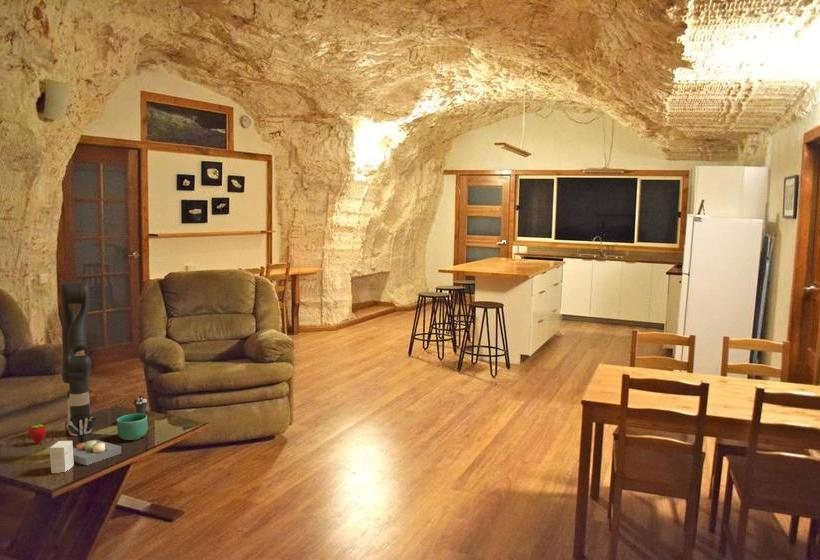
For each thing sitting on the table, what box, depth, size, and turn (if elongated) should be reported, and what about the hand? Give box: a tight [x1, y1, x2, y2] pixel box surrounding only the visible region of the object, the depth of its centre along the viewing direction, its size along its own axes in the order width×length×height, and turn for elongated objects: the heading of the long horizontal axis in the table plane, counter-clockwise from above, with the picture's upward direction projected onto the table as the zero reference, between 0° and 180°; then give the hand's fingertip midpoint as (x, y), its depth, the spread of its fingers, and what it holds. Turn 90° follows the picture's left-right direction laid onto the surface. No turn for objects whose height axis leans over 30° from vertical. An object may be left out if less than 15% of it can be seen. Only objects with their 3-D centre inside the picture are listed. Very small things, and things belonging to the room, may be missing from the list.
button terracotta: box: [76, 442, 85, 449], centre depth 277 cm, size 5×5×4 cm
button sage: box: [84, 439, 97, 452], centre depth 274 cm, size 5×5×4 cm
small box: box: [49, 440, 75, 474], centre depth 259 cm, size 8×6×10 cm
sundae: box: [132, 391, 149, 415], centre depth 318 cm, size 7×7×15 cm
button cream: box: [93, 443, 105, 454], centre depth 271 cm, size 5×5×4 cm
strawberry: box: [27, 423, 48, 445], centre depth 289 cm, size 6×8×10 cm
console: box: [73, 439, 122, 466], centre depth 274 cm, size 17×16×3 cm
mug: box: [116, 413, 149, 441], centre depth 297 cm, size 17×13×10 cm
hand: (82, 442), depth 277 cm, fingers closed
